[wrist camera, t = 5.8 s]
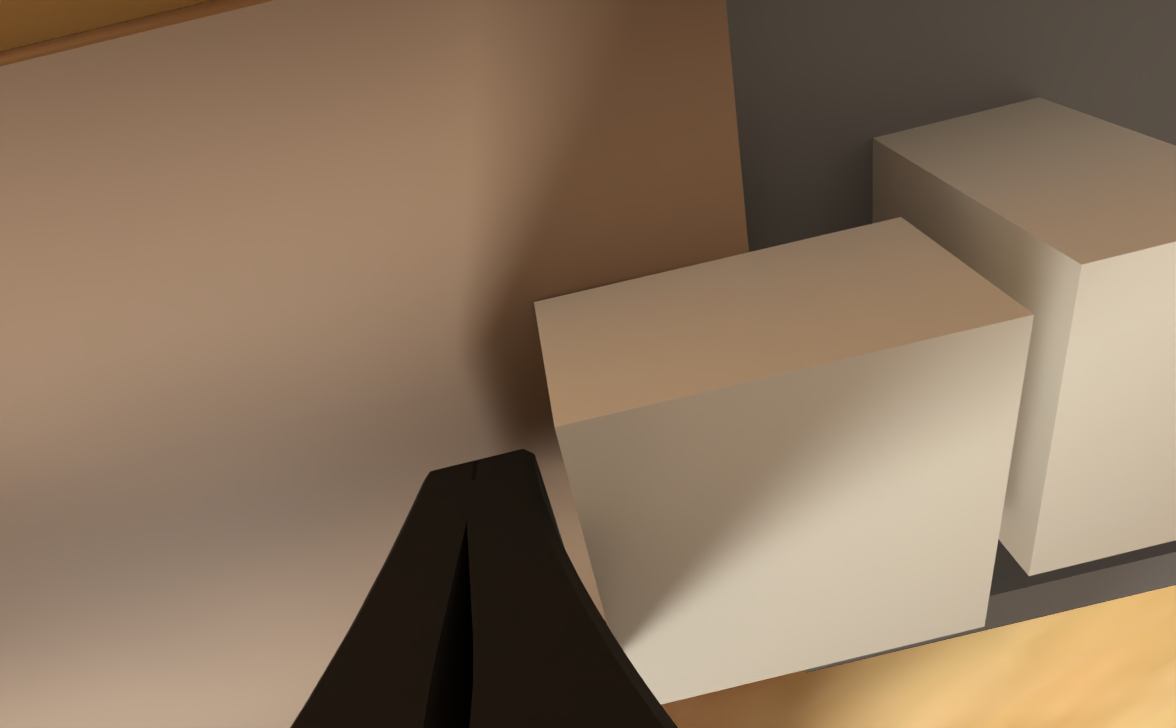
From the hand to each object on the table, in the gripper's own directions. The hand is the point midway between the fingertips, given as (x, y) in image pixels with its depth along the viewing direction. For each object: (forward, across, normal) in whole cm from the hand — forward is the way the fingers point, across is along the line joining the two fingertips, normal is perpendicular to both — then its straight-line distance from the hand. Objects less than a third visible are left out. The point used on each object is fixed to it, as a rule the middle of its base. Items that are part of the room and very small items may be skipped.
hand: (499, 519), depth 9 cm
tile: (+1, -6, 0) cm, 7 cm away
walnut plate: (+4, +3, 0) cm, 5 cm away
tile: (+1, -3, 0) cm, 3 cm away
